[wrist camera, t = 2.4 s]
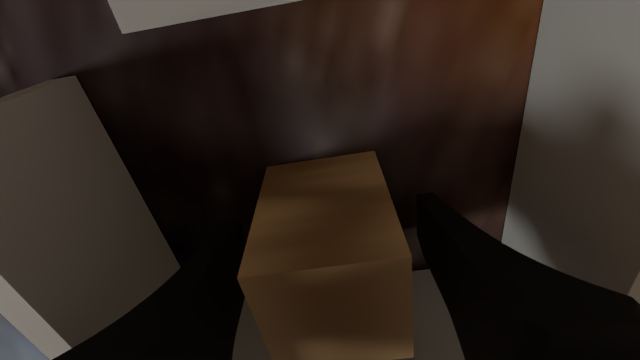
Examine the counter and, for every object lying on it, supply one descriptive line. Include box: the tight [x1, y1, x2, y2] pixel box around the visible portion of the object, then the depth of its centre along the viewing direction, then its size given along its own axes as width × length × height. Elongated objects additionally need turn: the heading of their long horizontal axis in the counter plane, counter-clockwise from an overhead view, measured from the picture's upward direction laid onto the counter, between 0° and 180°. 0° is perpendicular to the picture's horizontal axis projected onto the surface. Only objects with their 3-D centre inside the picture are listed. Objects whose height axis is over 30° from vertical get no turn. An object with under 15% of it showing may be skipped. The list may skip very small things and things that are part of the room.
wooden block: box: [237, 151, 414, 360], centre depth 12 cm, size 4×4×6 cm
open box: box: [0, 0, 640, 360], centre depth 12 cm, size 18×13×6 cm
